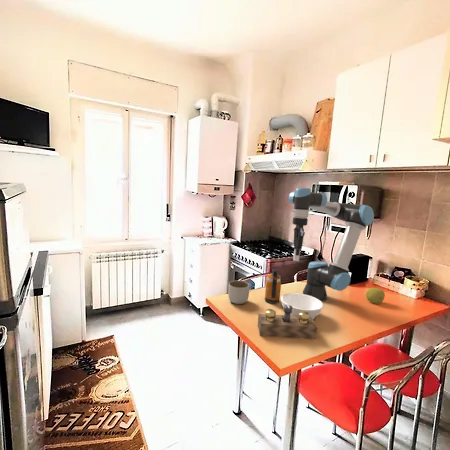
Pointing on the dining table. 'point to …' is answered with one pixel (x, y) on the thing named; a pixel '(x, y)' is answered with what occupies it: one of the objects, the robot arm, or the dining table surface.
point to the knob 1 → (270, 314)
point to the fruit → (375, 295)
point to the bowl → (302, 304)
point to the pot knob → (287, 313)
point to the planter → (238, 291)
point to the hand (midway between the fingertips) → (296, 260)
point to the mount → (286, 327)
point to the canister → (273, 287)
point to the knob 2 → (303, 317)
